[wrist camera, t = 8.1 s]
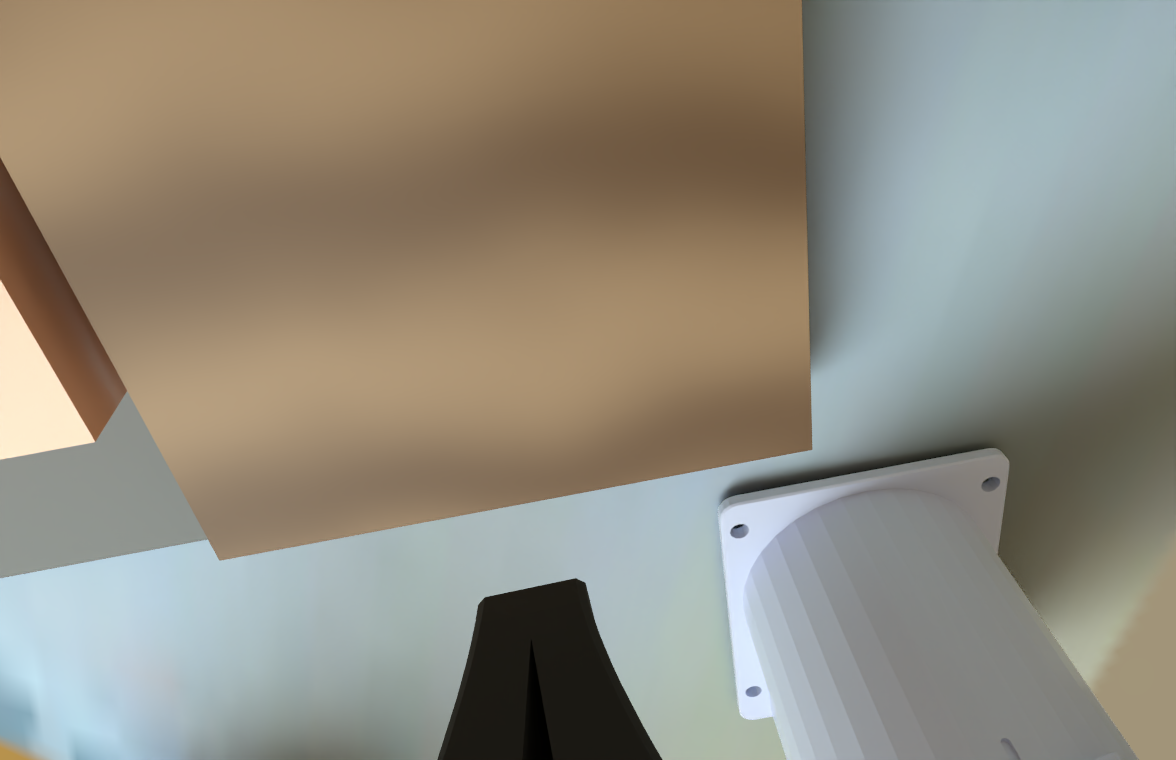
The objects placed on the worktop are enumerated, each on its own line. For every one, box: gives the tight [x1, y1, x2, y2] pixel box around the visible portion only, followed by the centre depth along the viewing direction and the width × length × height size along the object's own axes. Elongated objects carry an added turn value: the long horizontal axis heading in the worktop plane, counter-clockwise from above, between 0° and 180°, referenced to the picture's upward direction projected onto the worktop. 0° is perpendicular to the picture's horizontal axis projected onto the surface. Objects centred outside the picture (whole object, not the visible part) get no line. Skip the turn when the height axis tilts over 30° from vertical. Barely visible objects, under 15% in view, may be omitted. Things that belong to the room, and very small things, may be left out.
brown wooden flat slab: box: [0, 0, 812, 560], centre depth 18 cm, size 14×14×2 cm
